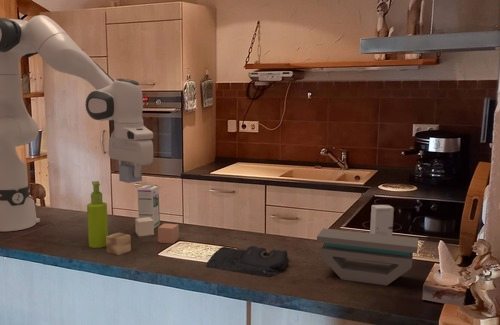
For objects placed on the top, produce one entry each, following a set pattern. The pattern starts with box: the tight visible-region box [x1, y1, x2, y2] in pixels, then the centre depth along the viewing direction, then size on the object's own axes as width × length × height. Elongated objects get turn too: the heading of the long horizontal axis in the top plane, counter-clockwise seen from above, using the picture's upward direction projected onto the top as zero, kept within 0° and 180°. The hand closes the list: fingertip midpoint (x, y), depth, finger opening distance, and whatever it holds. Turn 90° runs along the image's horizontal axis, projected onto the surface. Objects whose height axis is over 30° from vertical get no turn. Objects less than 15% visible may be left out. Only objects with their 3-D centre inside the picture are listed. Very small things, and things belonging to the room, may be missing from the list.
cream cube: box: [134, 217, 155, 237], centre depth 168 cm, size 5×5×5 cm
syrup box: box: [136, 184, 161, 229], centre depth 176 cm, size 6×6×14 cm
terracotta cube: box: [157, 222, 180, 244], centre depth 161 cm, size 5×5×5 cm
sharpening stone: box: [316, 228, 419, 286], centre depth 131 cm, size 25×8×11 cm, turn 70°
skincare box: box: [369, 204, 395, 236], centre depth 159 cm, size 6×4×12 cm
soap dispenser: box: [86, 180, 109, 249], centre depth 155 cm, size 6×7×20 cm
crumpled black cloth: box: [205, 245, 290, 278], centre depth 141 cm, size 15×22×5 cm
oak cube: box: [106, 232, 132, 256], centre depth 150 cm, size 5×5×5 cm
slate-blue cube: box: [118, 163, 143, 184], centre depth 156 cm, size 5×5×5 cm
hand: (130, 175), depth 156 cm, fingers closed on slate-blue cube, 5 cm apart
